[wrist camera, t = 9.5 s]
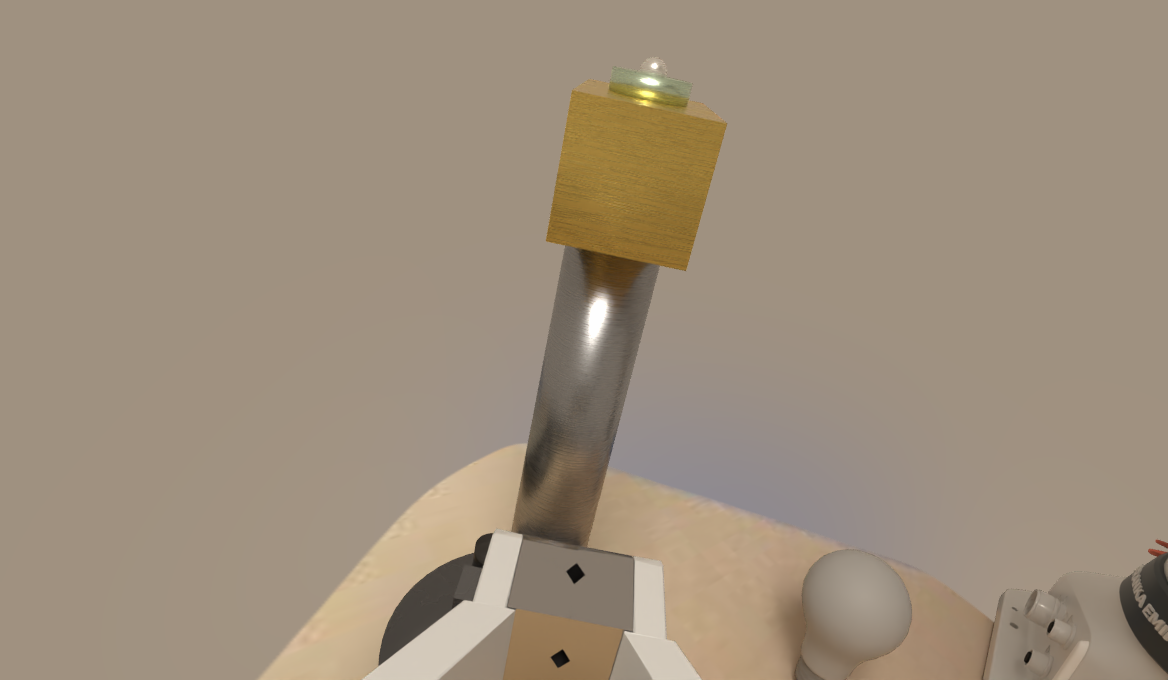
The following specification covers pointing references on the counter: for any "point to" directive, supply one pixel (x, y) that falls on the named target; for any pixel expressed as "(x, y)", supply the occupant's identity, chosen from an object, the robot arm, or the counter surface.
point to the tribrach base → (434, 598)
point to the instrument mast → (609, 276)
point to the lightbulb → (850, 614)
